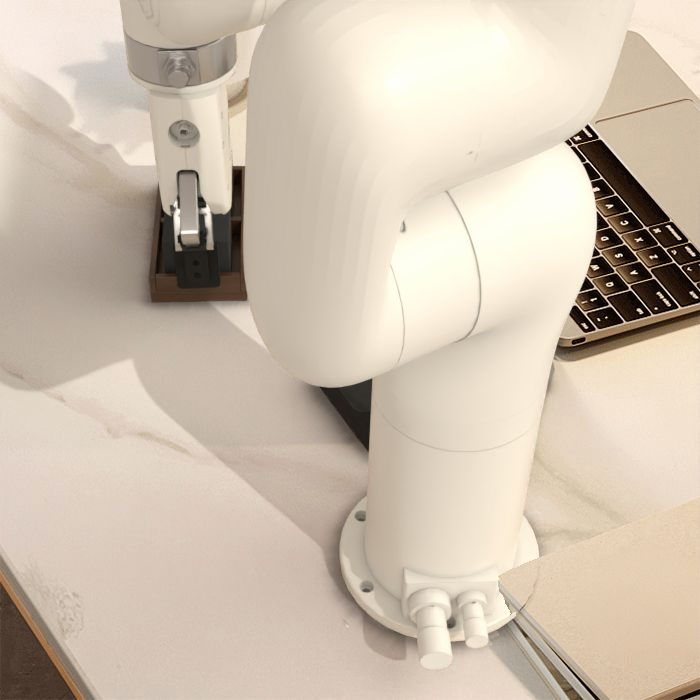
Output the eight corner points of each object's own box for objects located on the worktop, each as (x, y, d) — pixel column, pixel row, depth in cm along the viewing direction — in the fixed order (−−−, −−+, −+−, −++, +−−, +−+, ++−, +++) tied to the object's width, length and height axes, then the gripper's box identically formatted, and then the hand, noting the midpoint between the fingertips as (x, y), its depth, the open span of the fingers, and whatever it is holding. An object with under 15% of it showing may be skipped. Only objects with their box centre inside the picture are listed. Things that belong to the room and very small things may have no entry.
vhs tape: (540, 385, 92) (543, 365, 91) (369, 454, 87) (370, 434, 86) (483, 323, 97) (485, 303, 96) (317, 385, 92) (318, 365, 91)
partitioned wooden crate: (247, 300, 98) (245, 250, 95) (151, 302, 98) (145, 252, 95) (248, 189, 109) (246, 140, 105) (161, 190, 108) (156, 141, 105)
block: (230, 281, 98) (228, 241, 96) (166, 282, 98) (161, 242, 95) (232, 240, 102) (229, 201, 99) (169, 241, 102) (165, 201, 99)
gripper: (236, 114, 80) (250, 325, 92) (237, -15, 93) (248, 185, 105) (116, 117, 80) (145, 329, 92) (133, -12, 92) (156, 188, 104)
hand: (200, 251), depth 98 cm, fingers open, 7 cm apart
